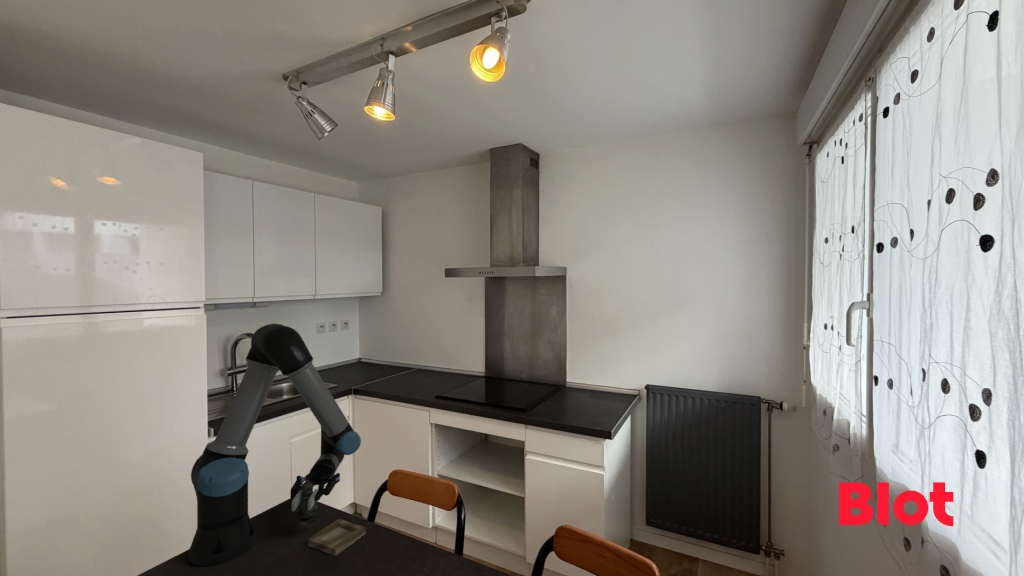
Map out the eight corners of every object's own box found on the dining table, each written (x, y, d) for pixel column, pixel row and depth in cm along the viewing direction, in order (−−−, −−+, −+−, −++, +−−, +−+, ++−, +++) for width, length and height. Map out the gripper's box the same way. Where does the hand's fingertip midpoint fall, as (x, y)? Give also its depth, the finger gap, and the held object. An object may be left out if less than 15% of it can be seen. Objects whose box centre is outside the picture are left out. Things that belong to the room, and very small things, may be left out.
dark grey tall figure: (308, 526, 113) (309, 485, 113) (291, 524, 114) (292, 482, 115) (322, 515, 119) (323, 475, 119) (305, 513, 120) (306, 473, 120)
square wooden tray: (307, 545, 112) (307, 539, 112) (338, 524, 122) (338, 518, 122) (335, 556, 107) (335, 549, 107) (365, 533, 118) (365, 527, 118)
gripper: (349, 478, 136) (332, 516, 113) (297, 482, 133) (269, 521, 110) (350, 456, 136) (332, 490, 113) (298, 460, 133) (269, 494, 110)
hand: (301, 505), depth 112 cm, fingers closed on dark grey tall figure, 4 cm apart
